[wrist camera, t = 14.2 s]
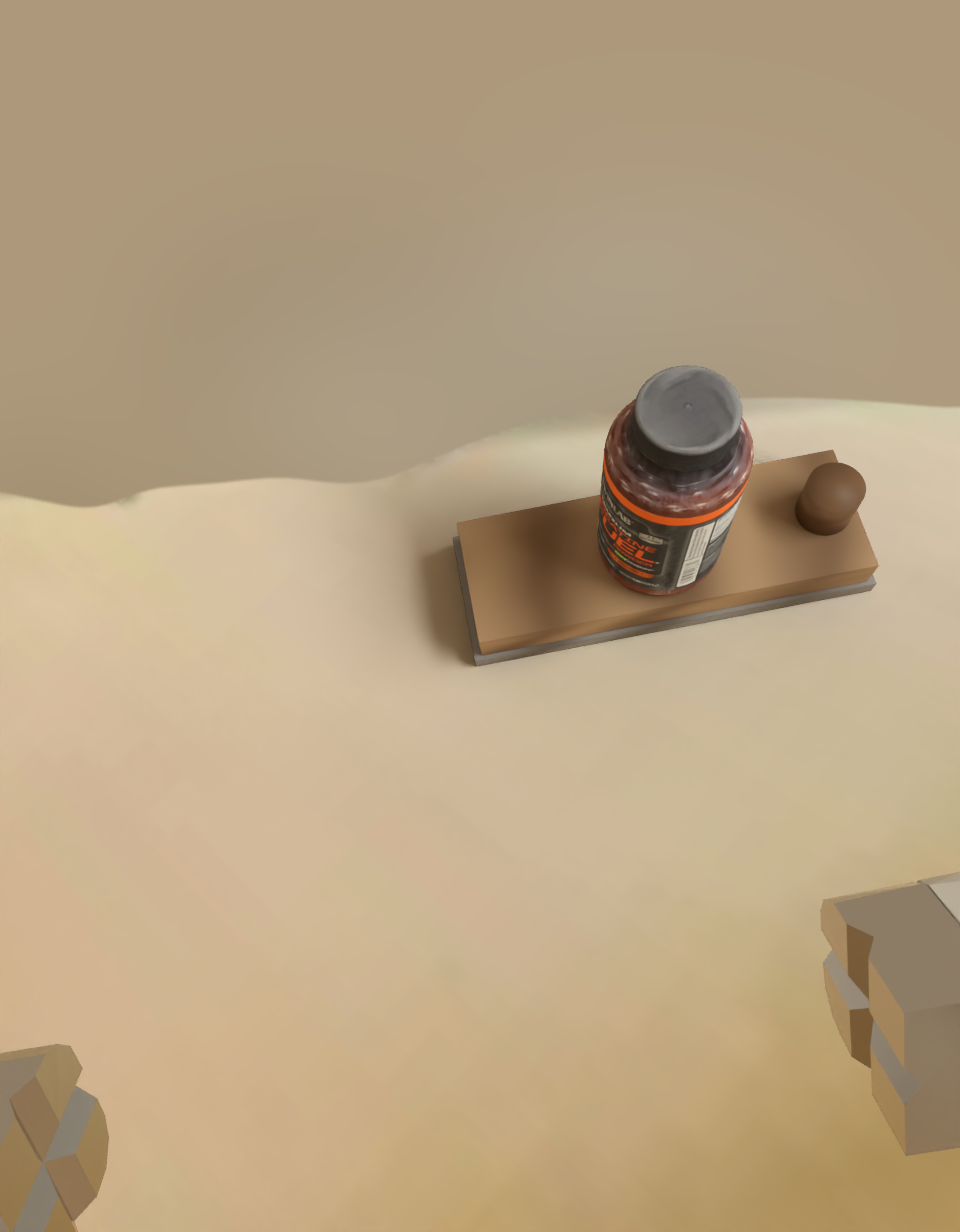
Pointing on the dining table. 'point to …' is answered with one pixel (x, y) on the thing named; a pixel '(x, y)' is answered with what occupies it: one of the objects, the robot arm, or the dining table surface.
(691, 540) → the supplement bottle
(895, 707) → the dining table surface
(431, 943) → the dining table surface
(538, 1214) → the dining table surface
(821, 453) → the body
